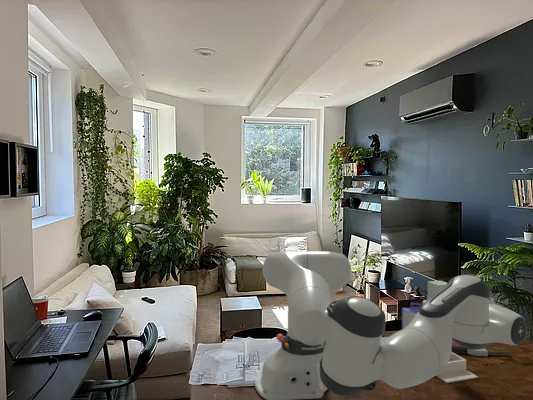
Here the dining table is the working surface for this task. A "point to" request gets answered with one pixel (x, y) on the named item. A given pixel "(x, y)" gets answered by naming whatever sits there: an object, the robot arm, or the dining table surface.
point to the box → (435, 287)
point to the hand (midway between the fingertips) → (437, 298)
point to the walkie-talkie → (480, 352)
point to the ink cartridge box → (409, 314)
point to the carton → (455, 370)
